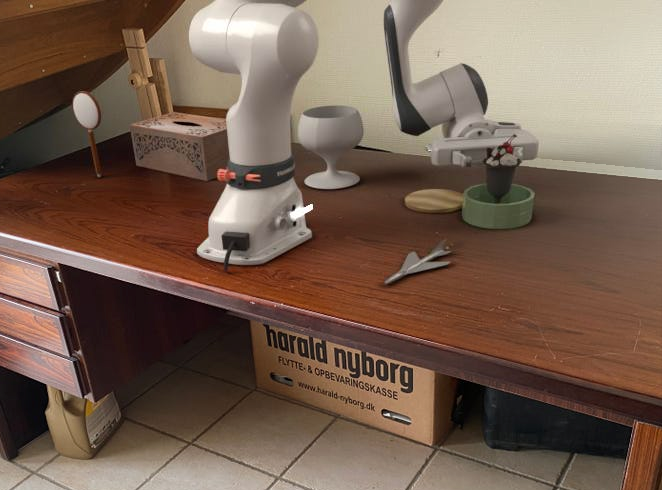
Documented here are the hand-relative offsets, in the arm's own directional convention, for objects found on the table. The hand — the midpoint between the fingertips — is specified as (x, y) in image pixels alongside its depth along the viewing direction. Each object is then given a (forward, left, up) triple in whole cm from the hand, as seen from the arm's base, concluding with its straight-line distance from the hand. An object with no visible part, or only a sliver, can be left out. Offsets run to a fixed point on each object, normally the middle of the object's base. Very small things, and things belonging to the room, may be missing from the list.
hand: (492, 161), depth 134 cm
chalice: (+5, +36, -9) cm, 37 cm away
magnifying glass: (-8, +92, -9) cm, 93 cm away
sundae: (-5, -3, -9) cm, 10 cm away
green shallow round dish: (-5, -3, -9) cm, 10 cm away
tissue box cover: (+7, +75, -9) cm, 76 cm away
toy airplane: (-30, +3, -9) cm, 31 cm away
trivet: (-1, +10, -9) cm, 14 cm away
